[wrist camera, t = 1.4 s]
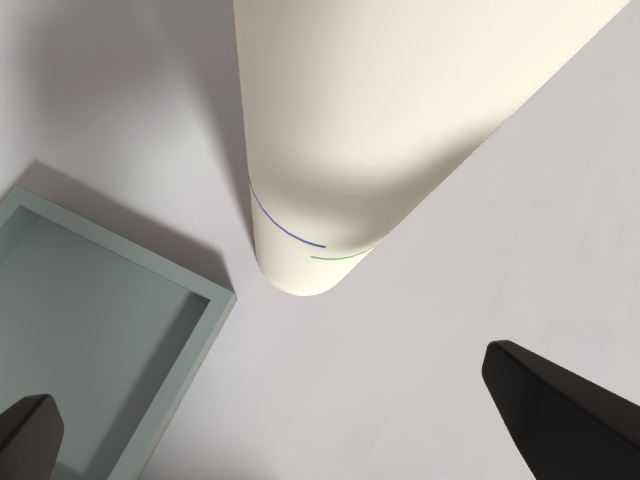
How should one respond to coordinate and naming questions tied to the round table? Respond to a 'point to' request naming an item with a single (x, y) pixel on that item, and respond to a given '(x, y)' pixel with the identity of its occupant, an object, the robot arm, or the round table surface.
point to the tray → (98, 333)
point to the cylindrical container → (379, 111)
